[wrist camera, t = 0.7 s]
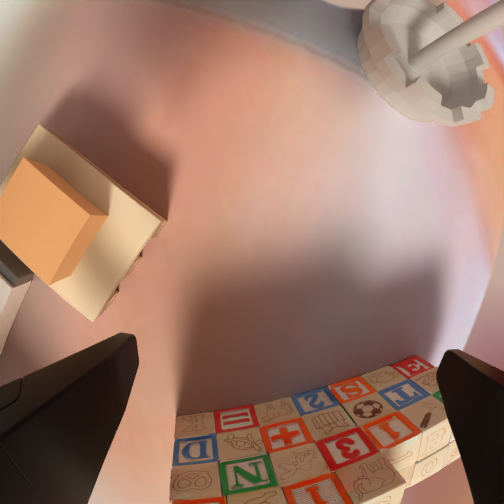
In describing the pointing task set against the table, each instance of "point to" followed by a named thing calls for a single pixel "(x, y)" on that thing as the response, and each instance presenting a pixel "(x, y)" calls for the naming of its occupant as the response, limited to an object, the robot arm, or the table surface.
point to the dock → (11, 289)
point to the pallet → (110, 234)
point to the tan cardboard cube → (47, 221)
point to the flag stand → (428, 59)
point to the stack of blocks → (318, 443)
